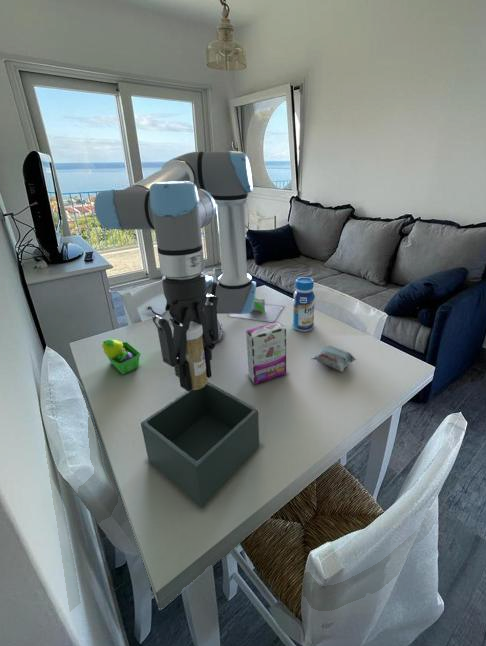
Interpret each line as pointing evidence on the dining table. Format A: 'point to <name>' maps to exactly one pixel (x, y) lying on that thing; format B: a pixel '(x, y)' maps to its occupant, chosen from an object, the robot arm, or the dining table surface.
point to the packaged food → (334, 357)
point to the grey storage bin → (201, 440)
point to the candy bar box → (266, 352)
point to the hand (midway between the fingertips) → (196, 381)
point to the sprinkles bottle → (196, 356)
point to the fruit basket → (121, 355)
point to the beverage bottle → (303, 305)
